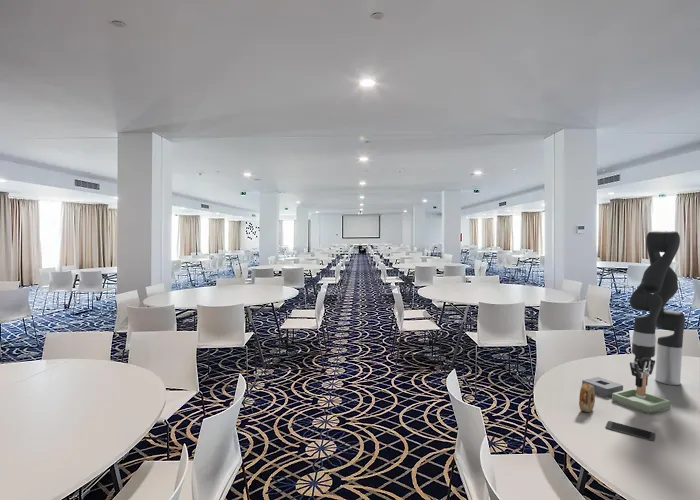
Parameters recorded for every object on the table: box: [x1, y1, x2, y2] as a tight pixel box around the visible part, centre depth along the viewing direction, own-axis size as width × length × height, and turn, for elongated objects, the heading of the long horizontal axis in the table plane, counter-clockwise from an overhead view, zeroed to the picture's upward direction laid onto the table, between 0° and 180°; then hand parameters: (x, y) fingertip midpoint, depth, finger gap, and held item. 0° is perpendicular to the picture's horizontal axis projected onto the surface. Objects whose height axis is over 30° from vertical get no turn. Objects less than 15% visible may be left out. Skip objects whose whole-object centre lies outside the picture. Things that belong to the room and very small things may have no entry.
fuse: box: [636, 369, 647, 399], centre depth 167 cm, size 3×3×11 cm
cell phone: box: [604, 420, 656, 442], centre depth 144 cm, size 7×14×1 cm, turn 51°
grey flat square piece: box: [581, 376, 624, 398], centre depth 181 cm, size 11×11×4 cm
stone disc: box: [578, 384, 596, 413], centre depth 160 cm, size 10×4×10 cm, turn 134°
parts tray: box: [611, 388, 671, 415], centre depth 167 cm, size 14×14×3 cm
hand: (641, 385), depth 167 cm, fingers closed on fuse, 3 cm apart
